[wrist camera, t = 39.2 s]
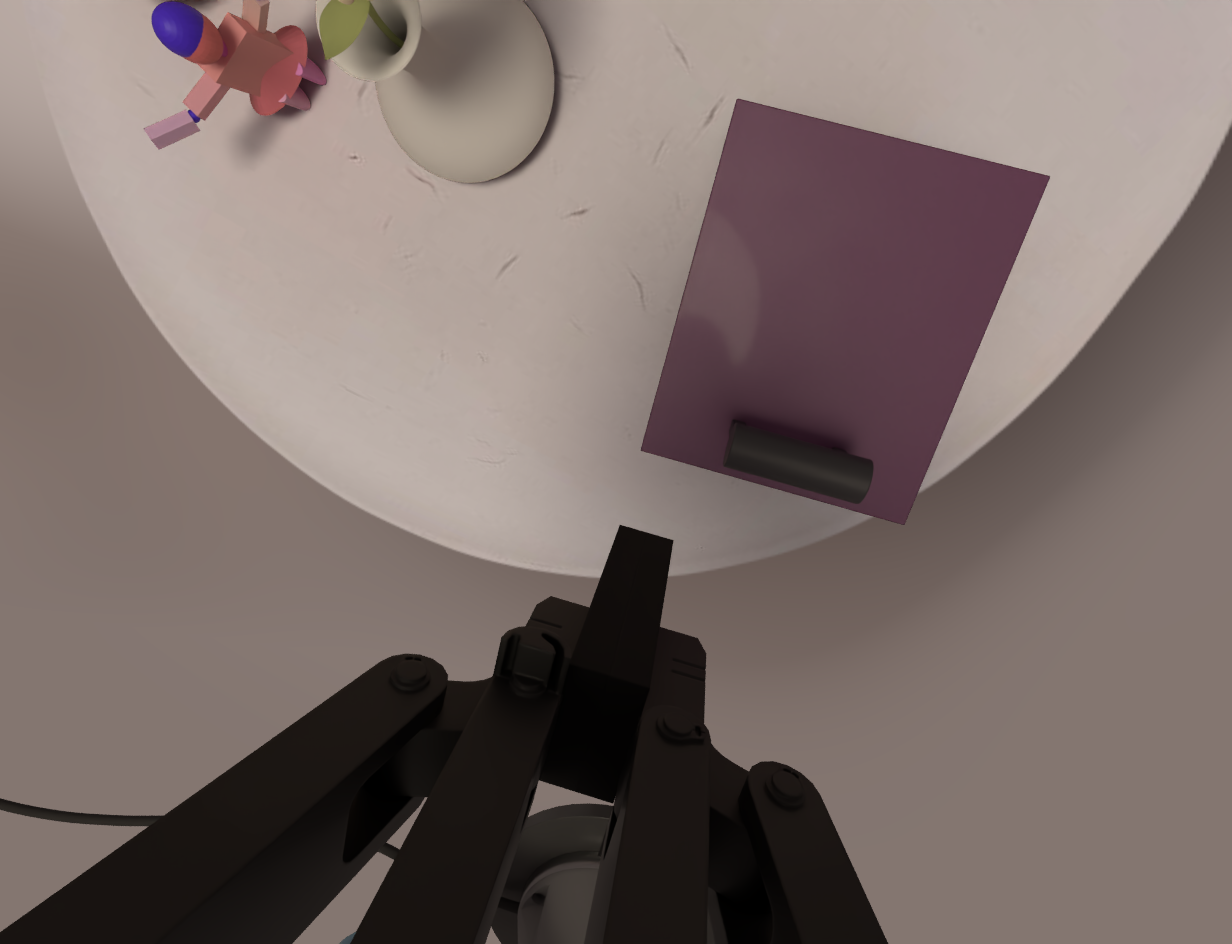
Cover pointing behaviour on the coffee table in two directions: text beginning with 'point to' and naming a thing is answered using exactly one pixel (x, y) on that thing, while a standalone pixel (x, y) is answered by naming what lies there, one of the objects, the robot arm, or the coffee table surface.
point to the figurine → (232, 63)
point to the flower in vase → (448, 77)
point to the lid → (835, 308)
